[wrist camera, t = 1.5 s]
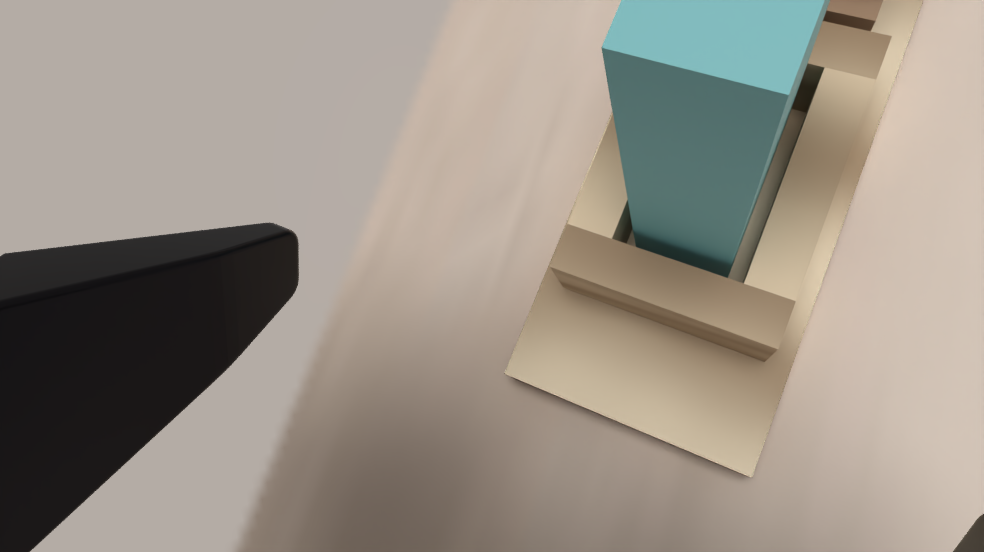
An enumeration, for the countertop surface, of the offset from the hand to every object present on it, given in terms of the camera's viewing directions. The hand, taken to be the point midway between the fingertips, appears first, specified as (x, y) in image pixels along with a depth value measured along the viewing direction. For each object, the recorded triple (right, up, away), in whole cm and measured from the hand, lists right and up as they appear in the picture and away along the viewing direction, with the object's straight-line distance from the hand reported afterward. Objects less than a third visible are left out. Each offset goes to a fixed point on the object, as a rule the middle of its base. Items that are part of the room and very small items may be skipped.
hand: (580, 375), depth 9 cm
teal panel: (+5, +4, +11) cm, 13 cm away
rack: (+6, +5, +12) cm, 15 cm away
